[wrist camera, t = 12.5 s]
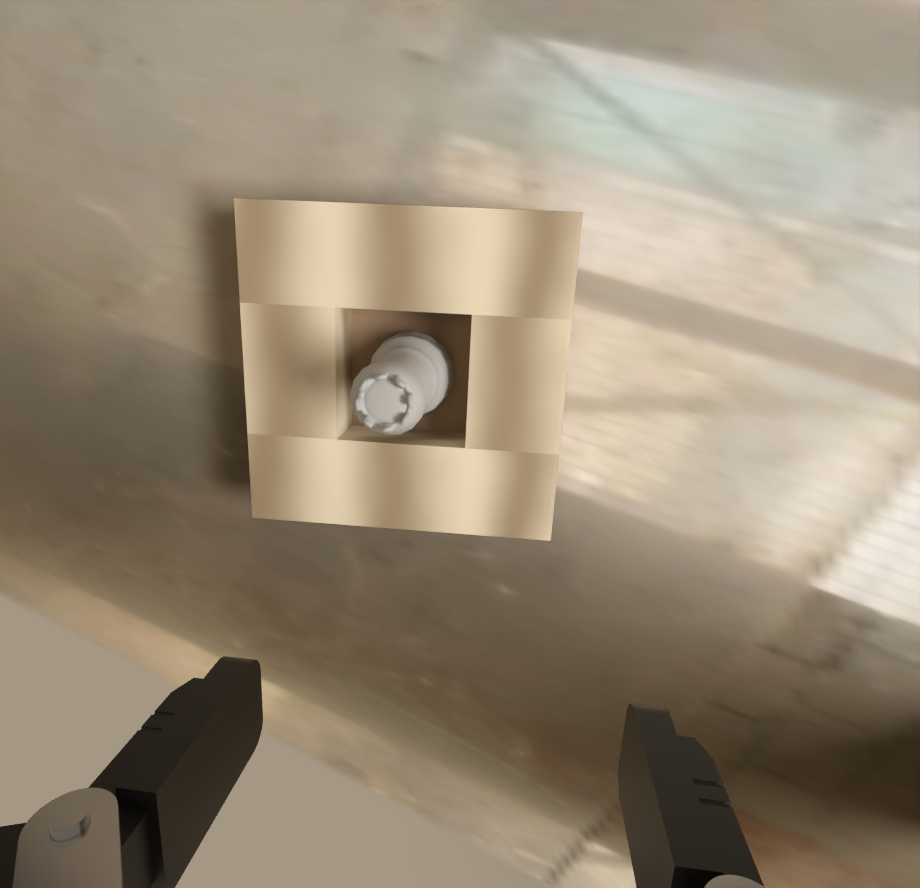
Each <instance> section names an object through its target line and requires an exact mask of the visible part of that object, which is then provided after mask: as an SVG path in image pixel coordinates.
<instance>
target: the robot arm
mask: <svg viewBox="0 0 920 888" xmlns="http://www.w3.org/2000/svg"><path fill="white" fill-rule="evenodd" d="M262 723H263V712H262V690H261V669H260V664H259V662H258V661H257V660H251V659H243V658H234V657H222V658H221V659H219V660H218V662H217V663H216V664H215V665H214V667H213V668H212V669H211V670H210V671H209V673H208V674H207V675H206V676H205V678H204V679H199V678H193V679H191V680H190V681H188V682H187V683H185V684H184V685H182V686H181V687H179V688H178V689H176V690H174V691H173V692H171V693H170V695H169V696H168V697H167V698H166V699H165V700H164V701H163V703H162V704H161V705H160V706H159V707H158V708H157V709H156V711H155V714H154V715H151V716H150V717H149V719H148V720H147V721H146V722H145V723H144V724H143V726H142V729H141V730H139V731H137V733H136V734H135V735H134V736H133V737H132V738H131V739H130V740H129V742H128V743H127V744H126V745H125V746H124V748H123V749H122V750H121V751H120V752H119V753H118V755H116V757H115V758H114V759H113V760H112V761H111V762H110V764H109V765H108V766H107V767H106V768H105V769H104V770H103V772H102V773H101V774H100V775H99V776H98V778H96V780H95V781H94V782H93V783H92V784H91V785H90V787H89V788H85V789H79V790H75V791H72V792H69V793H67V794H64V795H62V796H60V797H58V798H56V799H54V800H52V801H51V802H49V803H48V804H46V805H45V806H43V807H42V808H41V809H39V810H38V811H37V812H36V813H35V814H34V815H33V816H32V817H31V818H30V819H29V820H28V821H27V823H22V824H15V825H9V826H3V827H0V888H175V886H176V884H177V883H178V881H179V879H180V878H181V876H182V874H183V873H184V871H185V869H186V867H187V866H188V864H189V862H190V860H191V859H192V857H193V855H194V854H195V852H196V850H197V849H198V847H199V845H200V843H201V842H202V840H203V838H204V836H205V835H206V833H207V831H208V830H209V828H210V826H211V824H212V823H213V821H214V819H215V817H216V816H217V814H218V812H219V811H220V809H221V807H222V805H223V804H224V802H225V800H226V799H227V797H228V795H229V793H230V791H231V790H232V788H233V786H234V785H235V783H236V781H237V780H238V778H239V776H240V774H241V772H242V771H243V769H244V768H245V766H246V764H247V762H248V761H249V759H250V757H251V755H252V754H253V752H254V750H255V748H256V746H257V744H258V741H259V738H260V734H261V730H262ZM618 784H619V796H620V802H621V807H622V812H623V818H624V823H625V828H626V834H627V839H628V844H629V850H630V855H631V860H632V866H633V871H634V876H635V881H636V887H637V888H765V887H764V885H763V883H762V880H761V878H760V875H759V873H758V870H757V868H756V865H755V863H754V860H753V858H752V855H751V853H750V850H749V848H748V845H747V843H746V840H745V838H744V835H743V833H742V830H741V828H740V825H739V823H738V820H737V818H736V815H735V813H734V810H733V808H732V807H731V806H730V800H729V798H728V795H727V793H726V790H725V788H724V787H723V786H722V780H721V778H720V775H719V773H718V770H717V768H716V765H715V763H714V761H713V759H712V758H711V756H710V755H709V754H708V753H707V752H706V751H705V750H704V748H703V747H702V746H701V745H700V744H699V743H698V742H697V740H696V739H695V738H690V737H682V736H677V734H676V731H675V728H674V725H673V722H672V719H671V716H670V713H669V711H668V709H667V708H664V707H655V706H646V705H638V704H629V706H628V709H627V714H626V720H625V727H624V734H623V740H622V747H621V753H620V760H619V771H618Z"/></svg>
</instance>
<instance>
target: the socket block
mask: <svg viewBox="0 0 920 888" xmlns="http://www.w3.org/2000/svg"><path fill="white" fill-rule="evenodd" d="M234 212H235V229H236V246H237V263H238V280H239V298H240V315H241V332H242V349H243V366H244V383H245V400H246V418H247V435H248V452H249V469H250V486H251V503H252V518H264V519H277V520H290V521H303V522H316V523H329V524H342V525H354V526H367V527H380V528H393V529H406V530H419V531H432V532H445V533H458V534H470V535H483V536H496V537H509V538H522V539H535V540H548V541H551V532H552V521H553V511H554V501H555V491H556V480H557V470H558V460H559V450H560V440H561V429H562V419H563V409H564V399H565V388H566V378H567V368H568V358H569V347H570V337H571V327H572V317H573V307H574V296H575V286H576V276H577V266H578V255H579V245H580V235H581V225H582V214H583V212H565V211H540V210H515V209H490V208H465V207H440V206H415V205H390V204H365V203H340V202H315V201H290V200H265V199H240V198H234ZM403 332H419V333H422V334H425V335H428V336H431V337H432V338H433V339H435V340H436V341H437V342H438V343H439V344H441V345H442V346H443V347H444V348H445V350H446V352H447V354H448V356H449V358H450V360H451V362H452V369H453V381H452V385H451V388H450V391H449V394H448V395H447V396H446V398H445V399H444V400H443V401H442V402H441V404H440V405H439V406H437V408H436V409H434V410H432V411H430V412H428V413H426V414H424V415H422V418H421V419H420V420H419V421H418V423H417V424H416V425H415V426H414V427H413V428H412V429H410V430H408V431H406V432H404V433H402V434H400V435H388V436H385V435H382V434H379V433H376V432H372V431H370V430H369V429H368V428H367V427H366V426H364V425H363V424H362V423H361V422H360V421H359V420H358V418H357V416H356V415H355V413H354V411H353V409H352V404H351V397H350V393H351V389H352V385H353V381H354V379H355V378H356V377H357V375H358V374H359V373H360V371H361V370H362V369H363V368H365V367H367V366H369V365H370V363H371V359H372V356H373V355H374V353H375V352H376V351H377V349H378V348H379V347H380V346H381V344H382V343H383V342H384V341H385V340H387V339H389V338H390V337H392V336H394V335H396V334H398V333H403Z"/></svg>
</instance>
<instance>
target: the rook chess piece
mask: <svg viewBox="0 0 920 888" xmlns="http://www.w3.org/2000/svg"><path fill="white" fill-rule="evenodd" d="M452 381H453V369H452V362H451V360H450V358H449V356H448V354H447V352H446V350H445V348H444V347H443V346H442V345H441V344H439V343H438V342H437V341H436V340H435V339H433V338H432V337H431V336H428V335H425V334H422V333H419V332H403V333H398V334H396V335H394V336H392V337H390V338H389V339H387V340H385V341H384V342H383V343H382V344H381V346H380V347H379V348H378V349H377V351H376V352H375V353H374V355H373V356H372V359H371V363H370V365H369V366H367V367H365V368H363V369H362V370H361V371H360V373H359V374H358V375H357V377H356V378H355V379H354V381H353V385H352V389H351V393H350V397H351V404H352V409H353V411H354V413H355V415H356V416H357V418H358V420H359V421H360V422H361V423H362V424H363V425H364V426H366V427H367V428H368V429H369V430H370V431H372V432H376V433H379V434H382V435H385V436H388V435H400V434H402V433H404V432H406V431H408V430H410V429H412V428H413V427H414V426H415V425H416V424H417V423H418V421H419V420H420V419H421V418H422V415H424V414H426V413H428V412H430V411H432V410H434V409H436V408H437V406H439V405H440V404H441V402H442V401H443V400H444V399H445V398H446V396H447V395H448V394H449V391H450V388H451V385H452Z"/></svg>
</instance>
